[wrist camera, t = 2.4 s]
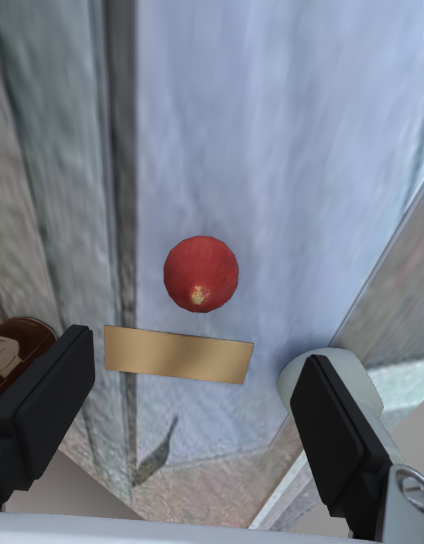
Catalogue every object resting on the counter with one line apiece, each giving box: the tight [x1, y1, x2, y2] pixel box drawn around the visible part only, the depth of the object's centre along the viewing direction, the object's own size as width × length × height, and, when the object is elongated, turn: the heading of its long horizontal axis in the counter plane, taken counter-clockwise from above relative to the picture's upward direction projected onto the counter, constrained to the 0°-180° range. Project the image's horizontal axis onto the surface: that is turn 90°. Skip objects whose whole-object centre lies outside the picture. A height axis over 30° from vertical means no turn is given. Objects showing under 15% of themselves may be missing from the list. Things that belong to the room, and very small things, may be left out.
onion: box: [164, 236, 239, 313], centre depth 18 cm, size 6×6×8 cm
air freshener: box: [276, 348, 405, 465], centre depth 23 cm, size 11×8×10 cm
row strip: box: [104, 325, 254, 384], centre depth 26 cm, size 16×6×1 cm, turn 81°
